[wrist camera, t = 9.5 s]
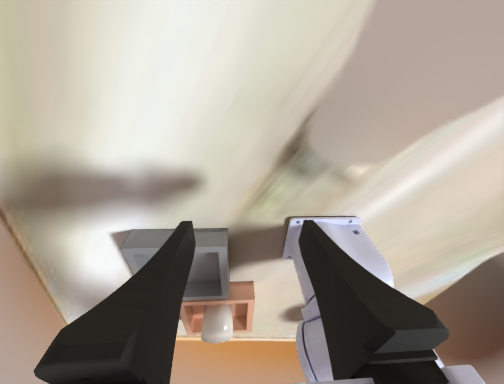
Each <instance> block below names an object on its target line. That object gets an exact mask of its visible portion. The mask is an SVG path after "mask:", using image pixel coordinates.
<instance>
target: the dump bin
mask: <svg viewBox="0 0 504 384" xmlns="http://www.w3.org/2000/svg"><path fill="white" fill-rule="evenodd" d="M254 302H255V296H254V283H253V281H250V282H230V283H229V299H215V300H191V301H182V305H181V310H180V316H181V319H182V322H183V325H184V327H185V330H186V333H187V335H201V332H202V323H203V314H204V305H214V304H233V333H240V332H252V322H253V312H254Z"/></svg>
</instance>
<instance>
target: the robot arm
mask: <svg viewBox="0 0 504 384" xmlns="http://www.w3.org/2000/svg"><path fill="white" fill-rule="evenodd" d="M296 221H298V222H296ZM360 222H361V219H360V218H359V217H300V218H291V219H290V221H289V226H288V231H287V236H286V241H285V245H284V250H283V255H282V256H283V259H293V262H294V265H295V269H296V272H297V276H298V280H299V283H300V287H301V290H302V294H303V297H304V301H305V305H306V307H304V308H302V309H301V313H302V316H303V320H302V321H300V322H299V324H298V327H297V335H296V346H297V353H298V358H299V361H300V364H301V368H302V371H303V373H304V376H305V378H306V380H307V382H308V383H295V384H485V382H484V381H483V380H482V379H481V377H480V376H479V375H478V373H477V372H476V371H475V369H474V368H473V367H472V366H471V365H457V366H447V367H444V365H443V363H442V362H441V360H440V359H439V357H438V355H437V354H436V352H435V351H434V349H433V348H435V347H436V346H438V345H439V344H441V343H442V342H444V341H445V340H446V339H448V337H449V334H450V333H449V331H448V330H447V328H446V327H445V326H444V324H443V323H442V322H441V321H440V319H439V318H438V317H437V315H436V314H435V313H434V312H433V311H432V310H431V309H429V308H427V307H425V306H424V305H422V304H420V303H418V302H416V301H414V300H413V299H411V298H409V297H407V296H406V295H404V294H402V293H401V292H399V291H397V290H396V289H394V281H393V276H392V273H391V270H390V267H389V265H388V263H387V261H386V260H385V258H384V257H383V256H382V254H381V253H380V252H379V250H378V249H377V248H376V246H375V245H374V244H373V242H372V241H371V240H370V238H369V237H368V236H367V234H366V233H365V232H364V230H363V229H362V228H361V226H360V225H359V224H360ZM195 246H196V241H195V236H194V230H193V224H192V221H182V222H181V223H180V224H179V225H178V227H177V228H176V229H175V230H174V232H173V233H172V234H171V236H170V237H169V238H168V239H167V241H166V242H165V243H164V244H163V245H162V247H161V248H160V249H159V250H158V251H157V252H156V253H155V254H154V255H153V257H152V258H151V259H150V260H149V261H148V262H147V263H146V264H145V265H144V266H143V267H142V268H141V269H140V270H139V271H138V272H137V273H136V274H134V275H133V276H132V277H131V278H130V279H129V280H128V281H127V282H125V283H124V284H123V285H122V286H121V287H120V288H118V289H117V290H116V291H115V292H113V293H112V294H111V295H109V296H108V297H107V298H106V299H104V300H103V301H102V302H100V303H99V304H98V305H96V306H95V307H94V308H92V309H91V310H89V311H88V312H87V313H85V314H84V315H82V316H81V317H79V318H78V319H76V320H75V321H73V322H72V323H70V324H69V325H67V326H66V327H64V328H63V329H61V330H60V332H59V333H58V335H57V336H56V337H55V339H54V340H53V342H52V343H51V345H50V346H49V348H48V349H47V351H46V353H45V354H44V356H43V357H42V359H41V360H40V362H39V363H38V365H37V367H36V368H35V369H34V373H35V376H36V377H38V378H39V379H41V380H43V381H45V382H47V383H49V384H169V383H170V375H171V368H172V361H173V353H174V346H175V340H176V334H177V328H178V322H179V316H180V310H181V305H182V300H183V295H184V291H185V288H186V284H187V281H188V277H189V273H190V270H191V266H192V262H193V259H194V252H195Z"/></svg>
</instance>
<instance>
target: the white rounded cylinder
mask: <svg viewBox="0 0 504 384" xmlns="http://www.w3.org/2000/svg"><path fill="white" fill-rule="evenodd" d="M232 337H233V304H214V305H204V314H203V323H202V332H201V339H202V340H203V341H204V342H207V343H223V342H226V341H228V340H230V339H231V338H232Z"/></svg>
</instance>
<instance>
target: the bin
mask: <svg viewBox="0 0 504 384" xmlns="http://www.w3.org/2000/svg"><path fill="white" fill-rule="evenodd" d="M174 230H175V229H144V230H132V231H131V232H130V234H129V235H128V237H127V239H126V240H125V242H124V243H123V245H122V247H121V248H120V249H121V251H122V253H123V255H124V257H125V259H126V261H127V263H128V265H129V267H130V269H131V271H132V273H133V275H134V274H136V273H137V272H138V271H139V270H140V269H141V268H142V267H143V266H144V265H145V264H146V263H147V262H148V261H149V260H150V259H151V258H152V257H153V255H154V254H155V253H156V252H157V251H158V250H159V249H160V248H161V247H162V245H163V244H164V243H165V242H166V241H167V239H168V238H169V237H170V236H171V234H172V233H173V232H174ZM193 230H194V236H195V241H196V246H195V252H194V259H193V262H192V266H191V270H190V273H189V277H188V281H187V284H186V288H185V291H184V295H183V300H182V301H191V300H215V299H229V283H230V279H229V252H228V228H218V229H193Z"/></svg>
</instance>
